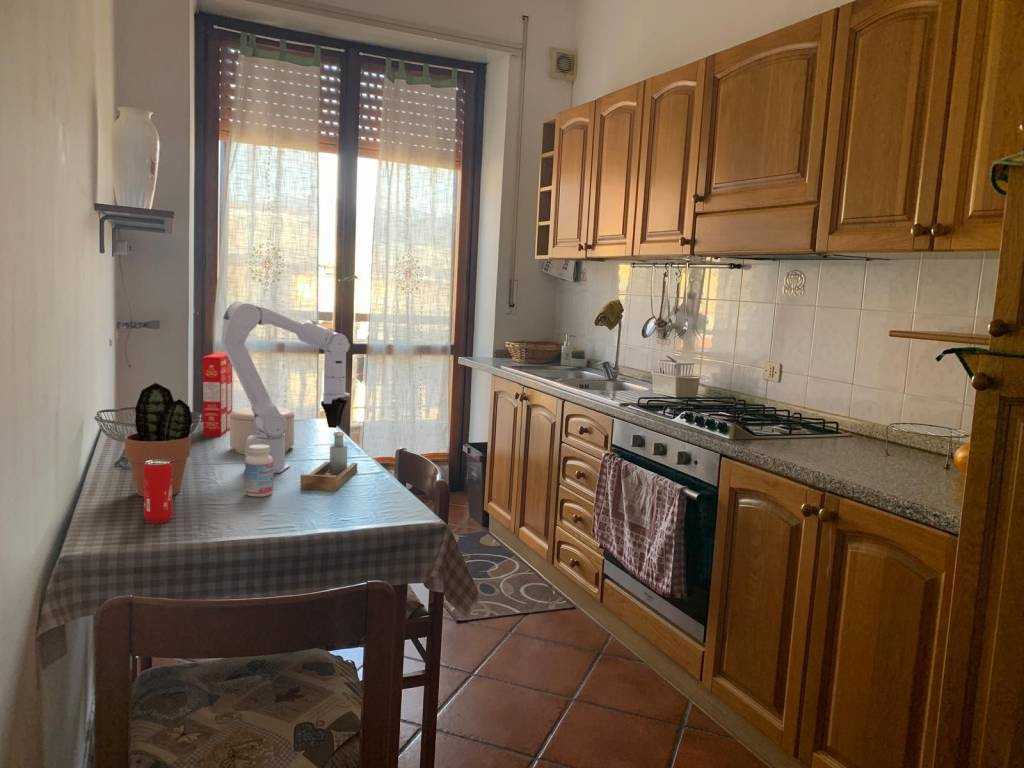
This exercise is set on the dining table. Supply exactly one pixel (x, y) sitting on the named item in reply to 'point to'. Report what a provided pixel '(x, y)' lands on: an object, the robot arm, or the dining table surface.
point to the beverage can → (157, 490)
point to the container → (245, 427)
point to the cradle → (326, 478)
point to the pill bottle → (259, 471)
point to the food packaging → (217, 394)
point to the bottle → (338, 455)
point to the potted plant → (159, 434)
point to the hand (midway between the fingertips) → (334, 426)
